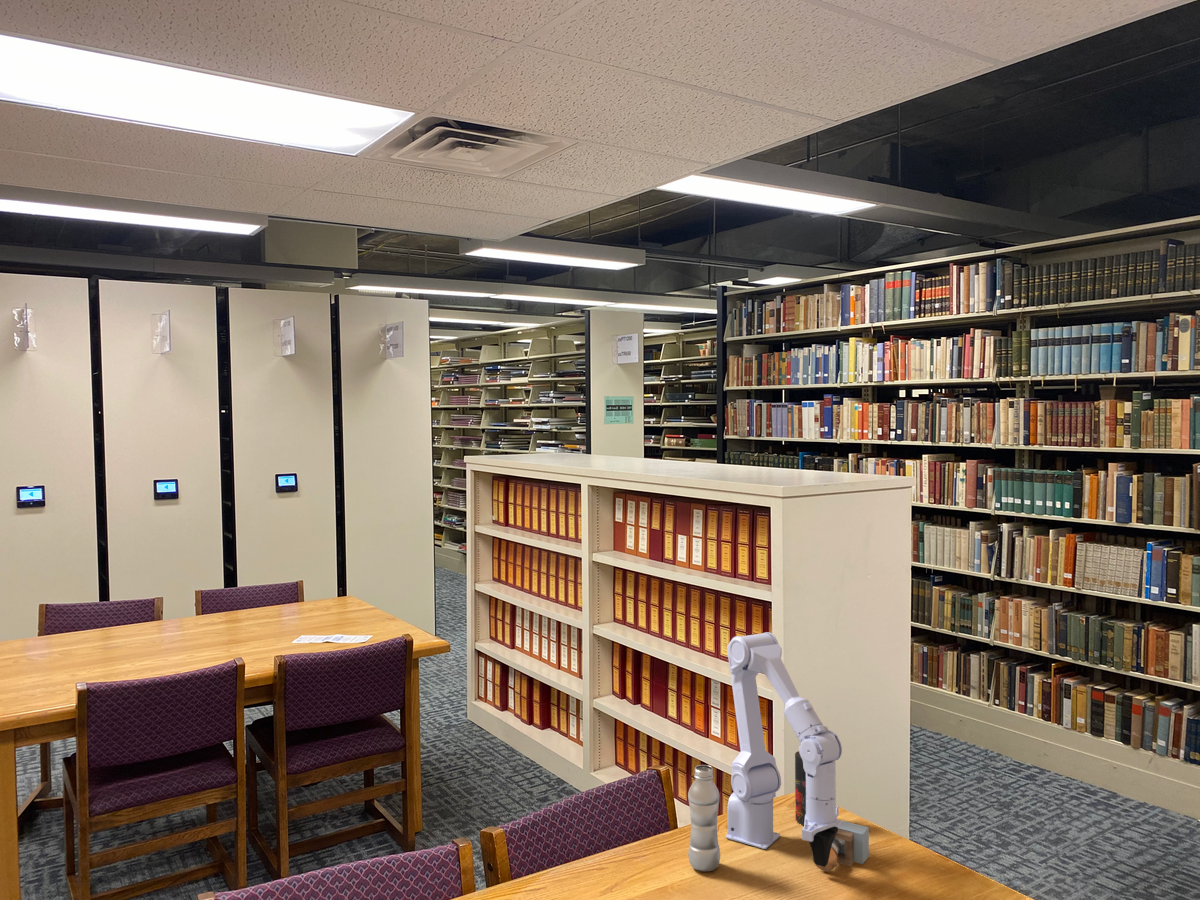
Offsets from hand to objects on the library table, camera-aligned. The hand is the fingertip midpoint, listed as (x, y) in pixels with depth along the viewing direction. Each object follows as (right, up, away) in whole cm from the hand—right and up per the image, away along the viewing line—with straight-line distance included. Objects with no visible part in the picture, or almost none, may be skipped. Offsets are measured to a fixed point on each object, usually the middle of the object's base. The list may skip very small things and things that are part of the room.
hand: (821, 864), depth 163 cm
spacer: (+5, -3, +7) cm, 9 cm away
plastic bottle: (-23, -3, +4) cm, 23 cm away
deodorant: (+4, -3, +25) cm, 26 cm away
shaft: (+4, -2, +6) cm, 7 cm away
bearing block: (+7, -3, +10) cm, 12 cm away
